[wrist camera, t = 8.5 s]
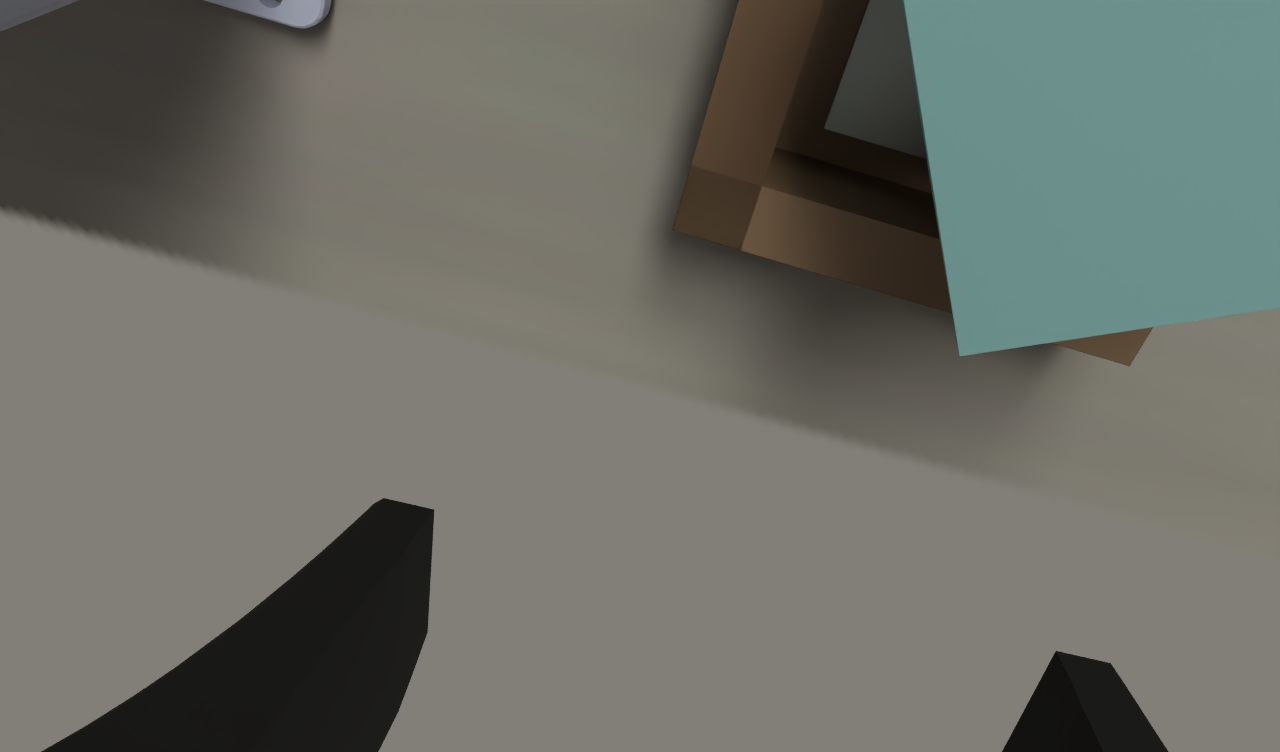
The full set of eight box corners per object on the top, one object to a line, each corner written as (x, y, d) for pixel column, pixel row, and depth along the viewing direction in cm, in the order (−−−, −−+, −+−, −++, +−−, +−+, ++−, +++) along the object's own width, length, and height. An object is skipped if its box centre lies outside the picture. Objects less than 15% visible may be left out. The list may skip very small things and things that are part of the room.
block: (929, 179, 19) (959, 356, 14) (881, -125, 16) (896, -45, 11) (1250, 115, 17) (1415, 286, 12) (1250, -228, 15) (1455, -189, 10)
